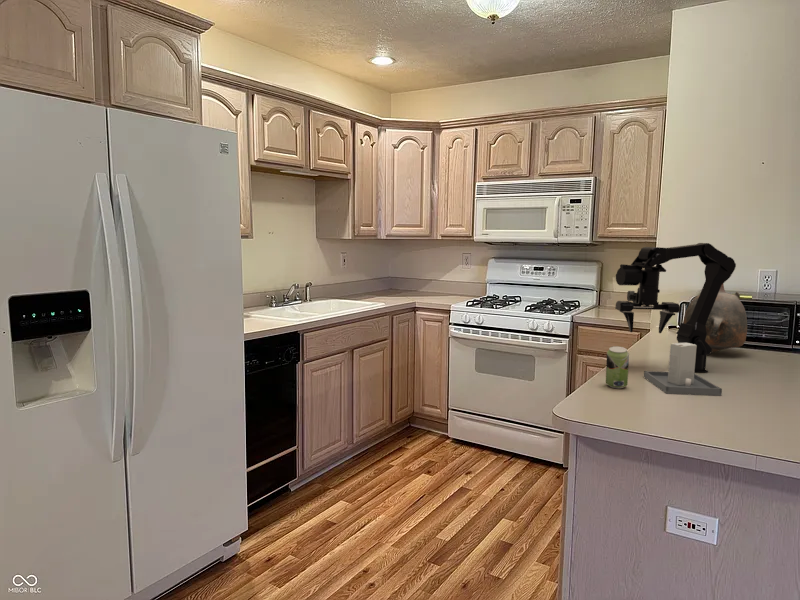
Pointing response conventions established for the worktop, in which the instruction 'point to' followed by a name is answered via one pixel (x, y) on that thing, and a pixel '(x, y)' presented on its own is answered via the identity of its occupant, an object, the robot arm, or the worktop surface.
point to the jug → (723, 321)
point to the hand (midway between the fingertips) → (645, 332)
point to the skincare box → (681, 363)
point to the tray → (697, 388)
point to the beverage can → (617, 367)
